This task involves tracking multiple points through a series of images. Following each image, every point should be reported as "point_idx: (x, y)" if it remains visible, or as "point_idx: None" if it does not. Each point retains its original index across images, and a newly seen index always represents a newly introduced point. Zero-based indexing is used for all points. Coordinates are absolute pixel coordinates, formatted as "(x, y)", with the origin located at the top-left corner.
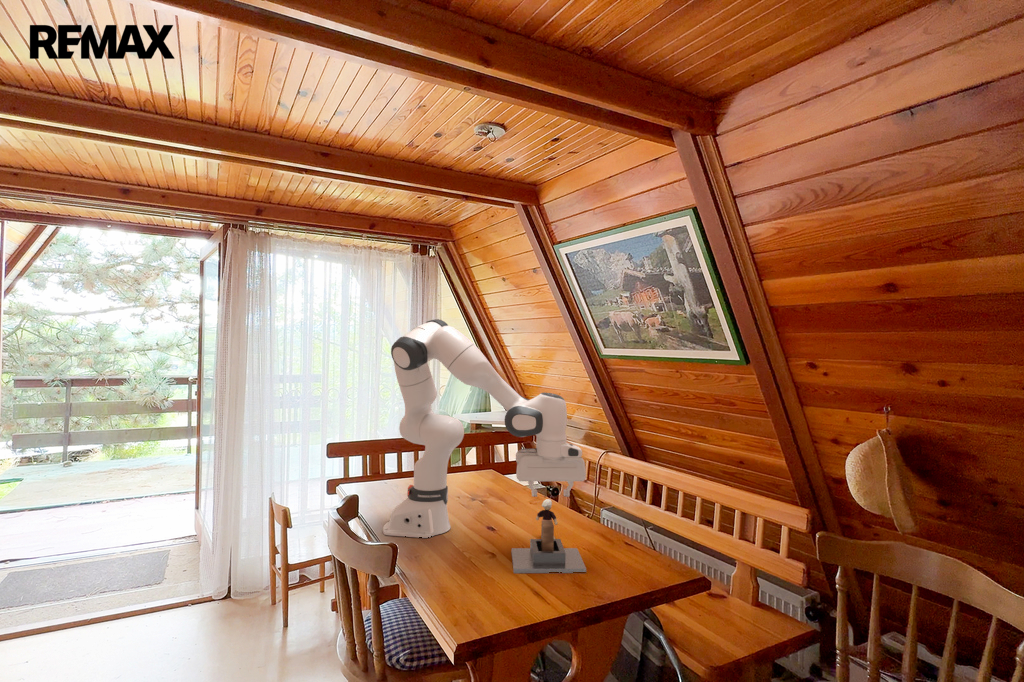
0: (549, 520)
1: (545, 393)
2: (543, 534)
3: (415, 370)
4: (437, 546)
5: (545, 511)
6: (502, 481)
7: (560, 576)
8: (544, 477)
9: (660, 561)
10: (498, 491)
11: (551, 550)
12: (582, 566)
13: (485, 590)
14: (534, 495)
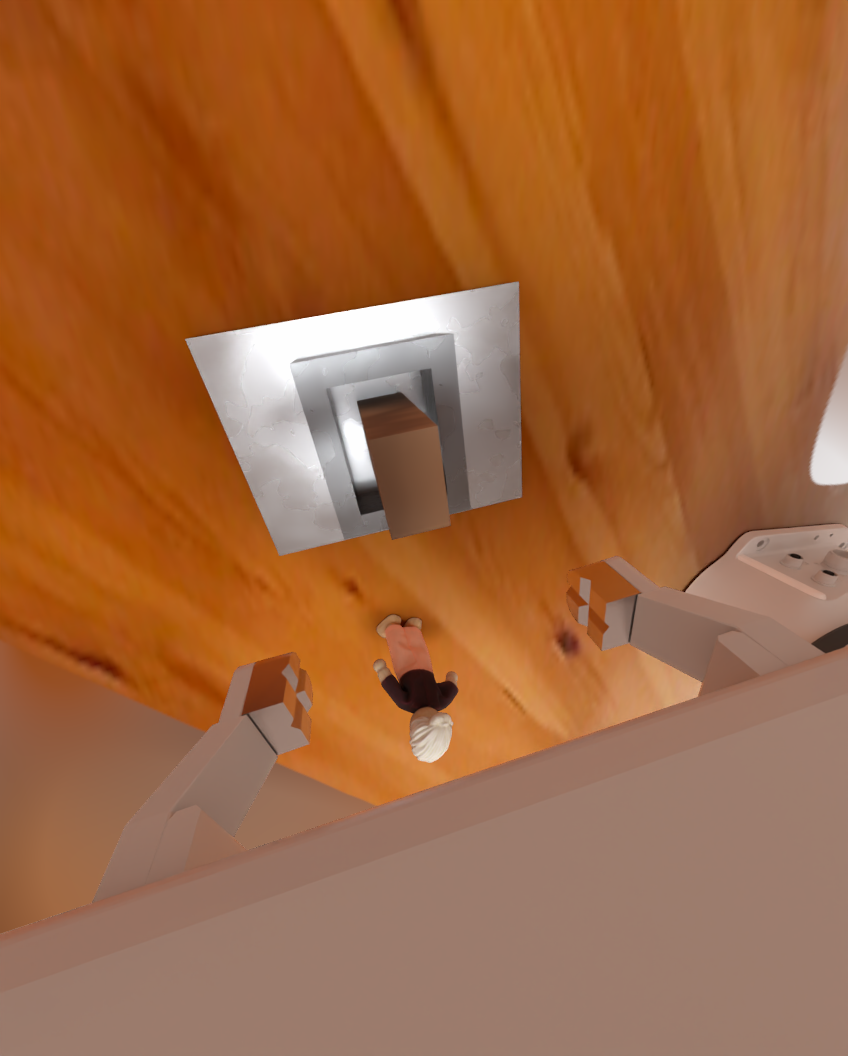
0: (406, 670)
1: None
2: (424, 414)
3: None
4: (730, 483)
5: (430, 700)
6: None
7: (307, 275)
8: (682, 795)
9: None
10: None
11: (368, 407)
12: (210, 363)
13: (641, 29)
14: (602, 565)
